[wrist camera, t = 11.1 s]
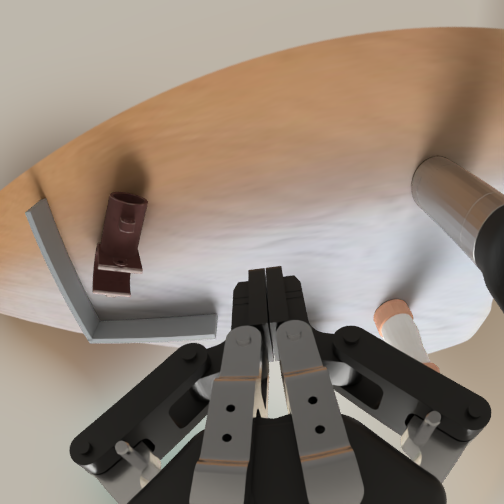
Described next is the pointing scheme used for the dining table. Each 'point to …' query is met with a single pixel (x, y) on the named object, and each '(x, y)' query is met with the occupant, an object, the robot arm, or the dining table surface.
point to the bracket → (119, 245)
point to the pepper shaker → (401, 330)
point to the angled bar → (83, 309)
